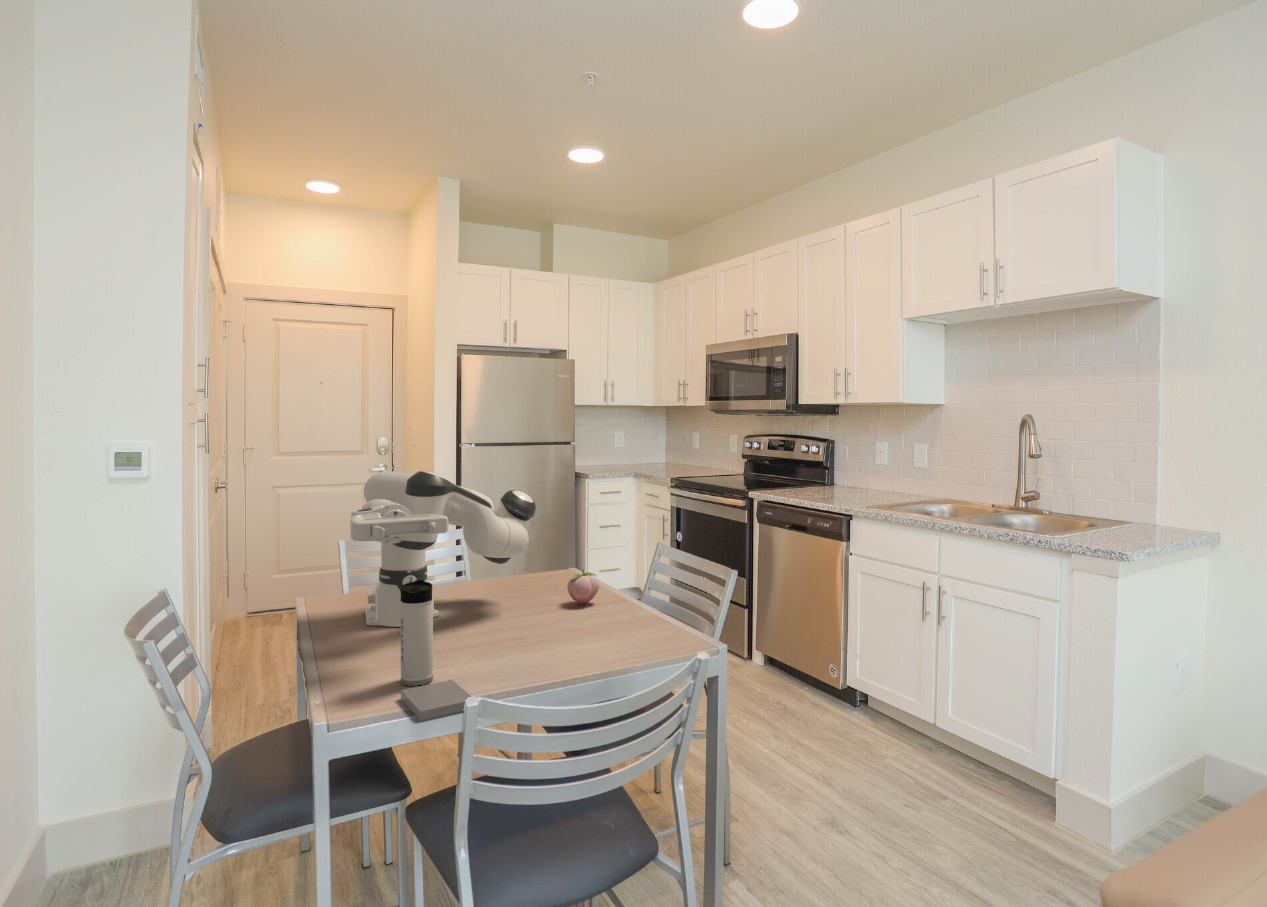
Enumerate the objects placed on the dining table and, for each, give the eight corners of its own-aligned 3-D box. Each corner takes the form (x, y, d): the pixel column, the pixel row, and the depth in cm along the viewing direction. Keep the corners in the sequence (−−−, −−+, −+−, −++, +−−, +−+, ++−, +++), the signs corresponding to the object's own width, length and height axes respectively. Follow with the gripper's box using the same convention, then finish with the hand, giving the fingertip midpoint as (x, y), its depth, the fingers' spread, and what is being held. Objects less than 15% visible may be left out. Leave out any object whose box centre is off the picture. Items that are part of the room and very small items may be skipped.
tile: (400, 689, 137) (420, 711, 127) (452, 679, 142) (474, 699, 132) (401, 701, 137) (420, 723, 127) (452, 690, 142) (474, 711, 132)
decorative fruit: (582, 598, 214) (583, 565, 213) (603, 603, 209) (603, 569, 208) (560, 605, 207) (560, 570, 206) (581, 610, 201) (581, 574, 201)
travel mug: (436, 674, 150) (435, 579, 149) (429, 686, 143) (429, 586, 142) (405, 675, 149) (404, 579, 148) (397, 687, 143) (396, 587, 142)
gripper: (437, 533, 166) (458, 542, 155) (344, 540, 155) (358, 551, 143) (437, 505, 166) (458, 512, 154) (343, 511, 155) (358, 519, 143)
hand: (409, 531), depth 149 cm, fingers open, 8 cm apart
